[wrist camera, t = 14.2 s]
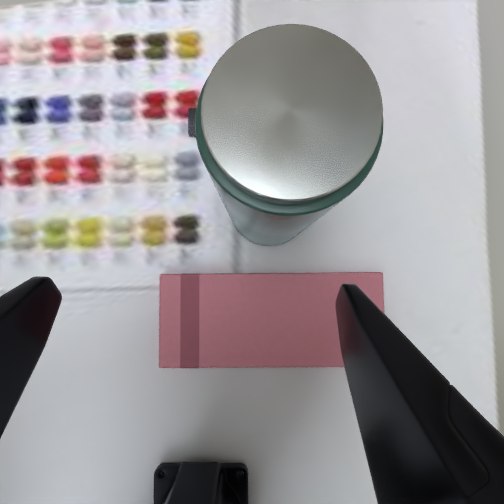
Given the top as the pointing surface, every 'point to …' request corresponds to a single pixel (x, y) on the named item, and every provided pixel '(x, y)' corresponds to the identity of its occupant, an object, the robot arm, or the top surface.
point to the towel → (255, 318)
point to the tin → (288, 128)
